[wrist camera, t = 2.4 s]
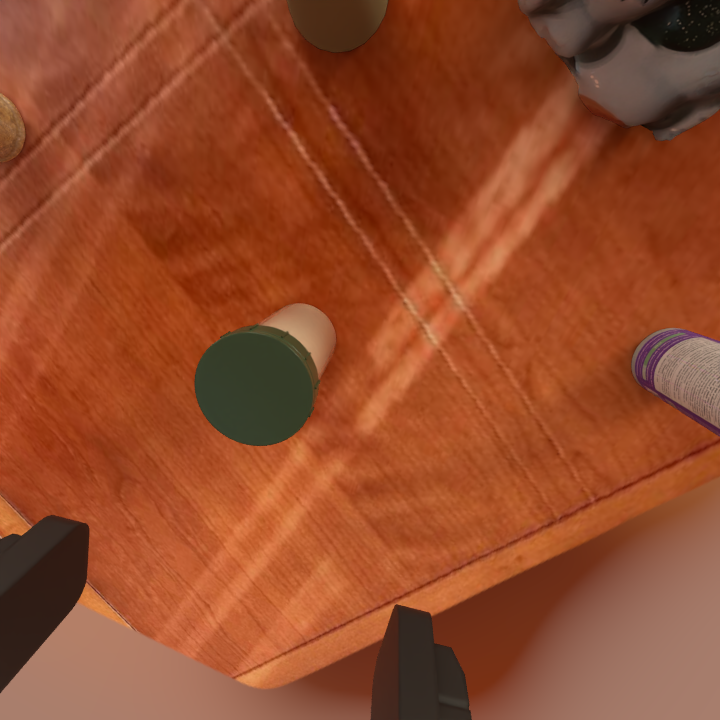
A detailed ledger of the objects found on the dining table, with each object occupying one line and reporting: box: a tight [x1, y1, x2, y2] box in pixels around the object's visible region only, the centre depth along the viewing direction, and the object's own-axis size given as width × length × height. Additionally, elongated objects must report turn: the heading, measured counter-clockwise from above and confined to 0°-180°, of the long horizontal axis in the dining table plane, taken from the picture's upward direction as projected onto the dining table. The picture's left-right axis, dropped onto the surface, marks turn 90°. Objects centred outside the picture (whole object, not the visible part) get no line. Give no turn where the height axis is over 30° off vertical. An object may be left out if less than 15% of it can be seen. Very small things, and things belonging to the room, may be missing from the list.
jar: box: [258, 303, 336, 380], centre depth 27 cm, size 5×5×10 cm
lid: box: [195, 324, 320, 446], centre depth 22 cm, size 6×6×2 cm
